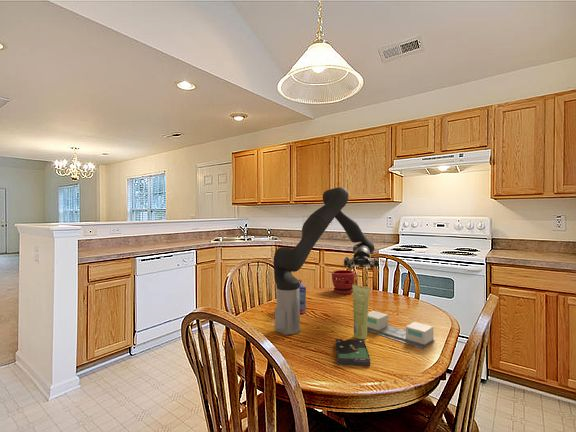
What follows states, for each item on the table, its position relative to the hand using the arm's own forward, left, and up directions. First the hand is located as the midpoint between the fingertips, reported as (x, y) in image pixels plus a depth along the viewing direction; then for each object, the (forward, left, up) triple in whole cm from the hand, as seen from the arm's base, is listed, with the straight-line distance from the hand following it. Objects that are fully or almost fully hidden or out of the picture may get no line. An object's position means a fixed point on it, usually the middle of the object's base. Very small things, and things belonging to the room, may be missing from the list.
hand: (360, 266), depth 129 cm
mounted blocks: (+3, -14, -24) cm, 28 cm away
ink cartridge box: (-4, +33, -25) cm, 42 cm away
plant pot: (+38, +38, -25) cm, 59 cm away
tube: (-9, -6, -25) cm, 27 cm away
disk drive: (-23, -12, -26) cm, 36 cm away
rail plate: (+3, -14, -25) cm, 29 cm away
